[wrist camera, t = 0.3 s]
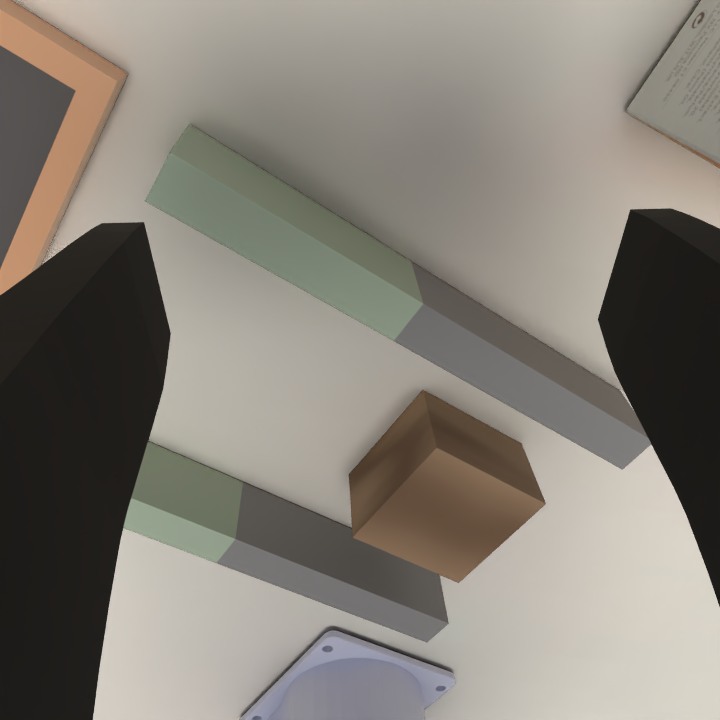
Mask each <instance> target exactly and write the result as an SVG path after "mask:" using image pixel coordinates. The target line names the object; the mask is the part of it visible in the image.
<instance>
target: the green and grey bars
mask: <svg viewBox="0 0 720 720" xmlns="http://www.w3.org/2000/svg"><path fill="white" fill-rule="evenodd" d="M145 201H146V202H147V203H149V204H151V205H153V206H154V207H156V208H158V209H160V210H162V211H163V212H165V213H167V214H169V215H170V216H172V217H174V218H176V219H178V220H179V221H181V222H183V223H185V224H186V225H188V226H190V227H192V228H194V229H195V230H197V231H199V232H201V233H203V234H204V235H206V236H208V237H210V238H211V239H213V240H215V241H217V242H219V243H220V244H222V245H224V246H226V247H227V248H229V249H231V250H233V251H235V252H236V253H238V254H240V255H242V256H243V257H245V258H247V259H249V260H251V261H252V262H254V263H256V264H258V265H259V266H261V267H263V268H265V269H267V270H268V271H270V272H272V273H274V274H275V275H277V276H279V277H281V278H283V279H284V280H286V281H288V282H290V283H291V284H293V285H295V286H297V287H299V288H300V289H302V290H304V291H306V292H307V293H309V294H311V295H313V296H315V297H316V298H318V299H320V300H322V301H323V302H325V303H327V304H329V305H331V306H332V307H334V308H336V309H338V310H339V311H341V312H343V313H345V314H347V315H348V316H350V317H352V318H354V319H355V320H357V321H359V322H361V323H363V324H364V325H366V326H368V327H370V328H371V329H373V330H375V331H377V332H379V333H380V334H382V335H384V336H386V337H388V338H389V339H391V340H393V341H395V342H396V343H398V344H400V345H402V346H404V347H405V348H407V349H409V350H411V351H412V352H414V353H416V354H418V355H420V356H421V357H423V358H425V359H427V360H428V361H430V362H432V363H434V364H436V365H437V366H439V367H441V368H443V369H444V370H446V371H448V372H450V373H452V374H453V375H455V376H457V377H459V378H460V379H462V380H464V381H466V382H468V383H469V384H471V385H473V386H475V387H476V388H478V389H480V390H482V391H484V392H485V393H487V394H489V395H491V396H492V397H494V398H496V399H498V400H500V401H501V402H503V403H505V404H507V405H508V406H510V407H512V408H514V409H516V410H517V411H519V412H521V413H523V414H524V415H526V416H528V417H530V418H532V419H533V420H535V421H537V422H539V423H540V424H542V425H544V426H546V427H548V428H549V429H551V430H553V431H555V432H557V433H558V434H560V435H562V436H564V437H565V438H567V439H569V440H571V441H573V442H574V443H576V444H578V445H580V446H581V447H583V448H585V449H587V450H589V451H590V452H592V453H594V454H596V455H597V456H599V457H601V458H603V459H605V460H606V461H608V462H610V463H612V464H613V465H615V466H617V467H619V468H621V469H622V470H623V469H624V468H625V467H626V466H627V465H628V464H629V463H630V462H632V461H633V460H634V459H635V458H636V457H637V456H638V455H639V454H641V453H642V452H643V451H644V450H645V449H646V448H647V447H648V446H650V445H651V442H650V440H649V438H648V437H647V435H646V433H645V431H644V429H643V427H642V425H641V423H640V421H639V419H638V417H637V415H636V414H635V412H634V411H633V409H632V408H631V406H630V405H629V403H628V402H627V400H626V399H625V397H624V396H623V394H622V393H621V391H619V390H618V389H616V388H615V387H613V386H611V385H610V384H608V383H606V382H605V381H603V380H602V379H600V378H598V377H597V376H595V375H594V374H592V373H590V372H589V371H587V370H586V369H584V368H582V367H581V366H579V365H577V364H576V363H574V362H573V361H571V360H569V359H568V358H566V357H565V356H563V355H561V354H560V353H558V352H556V351H555V350H553V349H552V348H550V347H548V346H547V345H545V344H544V343H542V342H540V341H539V340H537V339H536V338H534V337H532V336H531V335H529V334H527V333H526V332H524V331H523V330H521V329H519V328H518V327H516V326H515V325H513V324H511V323H510V322H508V321H507V320H505V319H503V318H502V317H500V316H498V315H497V314H495V313H494V312H492V311H490V310H489V309H487V308H486V307H484V306H482V305H481V304H479V303H477V302H476V301H474V300H473V299H471V298H469V297H468V296H466V295H465V294H463V293H461V292H460V291H458V290H457V289H455V288H453V287H452V286H450V285H448V284H447V283H445V282H444V281H442V280H440V279H439V278H437V277H436V276H434V275H432V274H431V273H429V272H427V271H426V270H424V269H423V268H421V267H419V266H418V265H416V264H415V263H413V262H411V261H410V260H408V259H407V258H405V257H403V256H402V255H400V254H398V253H397V252H395V251H394V250H392V249H390V248H389V247H387V246H386V245H384V244H382V243H381V242H379V241H377V240H376V239H374V238H373V237H371V236H369V235H368V234H366V233H365V232H363V231H361V230H360V229H358V228H357V227H355V226H353V225H352V224H350V223H348V222H347V221H345V220H344V219H342V218H340V217H339V216H337V215H336V214H334V213H332V212H331V211H329V210H328V209H326V208H324V207H323V206H321V205H319V204H318V203H316V202H315V201H313V200H311V199H310V198H308V197H307V196H305V195H303V194H302V193H300V192H298V191H297V190H295V189H294V188H292V187H290V186H289V185H287V184H286V183H284V182H282V181H281V180H279V179H278V178H276V177H274V176H273V175H271V174H269V173H268V172H266V171H265V170H263V169H261V168H260V167H258V166H257V165H255V164H253V163H252V162H250V161H248V160H247V159H245V158H244V157H242V156H240V155H239V154H237V153H236V152H234V151H232V150H231V149H229V148H228V147H226V146H224V145H223V144H221V143H219V142H218V141H216V140H215V139H213V138H211V137H210V136H208V135H207V134H205V133H203V132H202V131H200V130H199V129H197V128H195V127H194V126H192V125H190V124H189V125H188V127H187V128H186V130H185V131H184V133H183V134H182V136H181V137H180V139H179V140H178V141H177V143H176V144H175V146H174V147H173V149H172V150H171V152H170V153H169V155H168V157H167V159H166V161H165V163H164V165H163V167H162V169H161V171H160V173H159V175H158V177H157V179H156V181H155V183H154V185H153V186H152V188H151V190H150V192H149V194H148V196H147V198H146V200H145ZM123 528H125V529H127V530H130V531H133V532H135V533H138V534H141V535H143V536H146V537H149V538H151V539H154V540H156V541H159V542H162V543H164V544H167V545H170V546H172V547H175V548H178V549H180V550H183V551H186V552H188V553H191V554H194V555H196V556H199V557H202V558H204V559H207V560H210V561H212V562H215V563H218V564H220V565H223V566H225V567H228V568H231V569H233V570H236V571H239V572H241V573H244V574H247V575H249V576H252V577H255V578H257V579H260V580H263V581H265V582H268V583H271V584H273V585H276V586H279V587H281V588H284V589H286V590H289V591H292V592H294V593H297V594H300V595H302V596H305V597H308V598H310V599H313V600H316V601H318V602H321V603H324V604H326V605H329V606H332V607H334V608H337V609H340V610H342V611H345V612H348V613H350V614H353V615H355V616H358V617H361V618H363V619H366V620H369V621H371V622H374V623H377V624H379V625H382V626H385V627H387V628H390V629H393V630H395V631H398V632H401V633H403V634H406V635H409V636H411V637H414V638H417V639H419V640H422V641H424V642H428V641H429V640H430V639H432V638H433V637H434V636H435V635H436V634H437V633H438V632H439V631H441V630H442V629H443V628H444V627H445V626H446V625H447V624H449V623H448V617H447V612H446V607H445V602H444V597H443V592H442V586H441V581H440V576H439V574H437V573H434V572H432V571H430V570H427V569H425V568H423V567H420V566H418V565H416V564H413V563H411V562H409V561H406V560H404V559H402V558H399V557H397V556H395V555H393V554H390V553H388V552H386V551H383V550H381V549H379V548H376V547H374V546H372V545H369V544H367V543H365V542H362V541H360V540H358V539H355V538H353V533H352V529H351V528H348V527H346V526H344V525H342V524H339V523H337V522H335V521H332V520H330V519H328V518H325V517H323V516H321V515H318V514H316V513H314V512H311V511H309V510H307V509H304V508H302V507H300V506H297V505H295V504H293V503H290V502H288V501H286V500H283V499H281V498H279V497H276V496H274V495H272V494H269V493H267V492H265V491H262V490H260V489H258V488H255V487H253V486H251V485H248V484H246V483H244V482H242V481H239V480H237V479H235V478H232V477H230V476H228V475H225V474H223V473H221V472H218V471H216V470H214V469H211V468H209V467H207V466H204V465H202V464H200V463H197V462H195V461H193V460H190V459H188V458H186V457H183V456H181V455H179V454H176V453H174V452H172V451H169V450H167V449H165V448H162V447H160V446H158V445H155V444H153V443H151V442H149V441H148V443H147V446H146V450H145V453H144V457H143V460H142V463H141V467H140V470H139V473H138V477H137V480H136V484H135V487H134V490H133V494H132V497H131V501H130V504H129V507H128V511H127V515H126V519H125V523H124V527H123Z"/></svg>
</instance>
